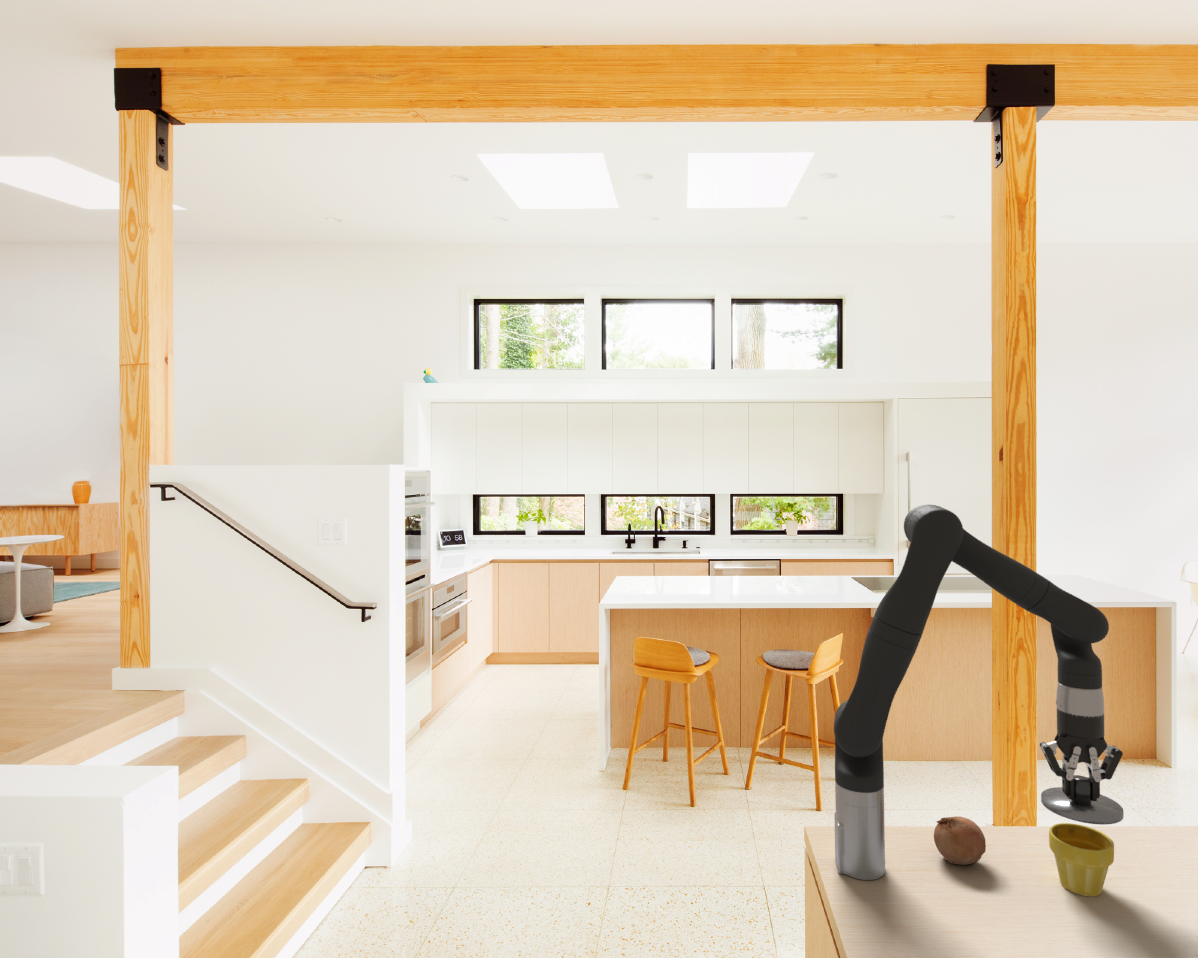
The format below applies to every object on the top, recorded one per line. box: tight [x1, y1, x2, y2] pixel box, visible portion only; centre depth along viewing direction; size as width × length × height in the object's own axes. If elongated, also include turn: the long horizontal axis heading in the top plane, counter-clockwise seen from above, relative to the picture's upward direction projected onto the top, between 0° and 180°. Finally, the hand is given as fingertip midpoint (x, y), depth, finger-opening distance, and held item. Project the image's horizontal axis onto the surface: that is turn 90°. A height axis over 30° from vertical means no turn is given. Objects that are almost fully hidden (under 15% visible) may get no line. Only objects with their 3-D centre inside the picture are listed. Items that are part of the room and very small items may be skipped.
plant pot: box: [1048, 822, 1115, 897], centre depth 139 cm, size 10×10×10 cm
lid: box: [1040, 774, 1124, 825], centre depth 138 cm, size 13×13×6 cm
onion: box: [933, 816, 987, 865], centre depth 148 cm, size 10×9×10 cm
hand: (1081, 797), depth 138 cm, fingers closed on lid, 3 cm apart
